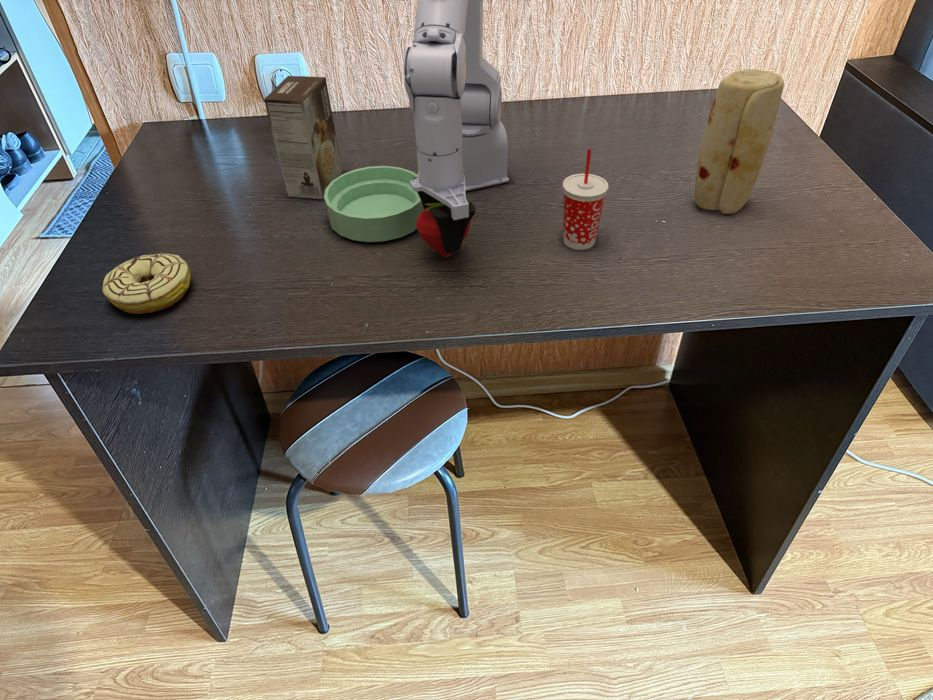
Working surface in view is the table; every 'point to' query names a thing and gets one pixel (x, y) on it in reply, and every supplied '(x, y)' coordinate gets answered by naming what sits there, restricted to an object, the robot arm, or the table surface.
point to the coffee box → (304, 135)
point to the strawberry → (432, 229)
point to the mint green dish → (373, 204)
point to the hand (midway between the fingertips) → (444, 238)
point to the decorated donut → (147, 283)
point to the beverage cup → (582, 207)
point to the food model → (737, 139)
